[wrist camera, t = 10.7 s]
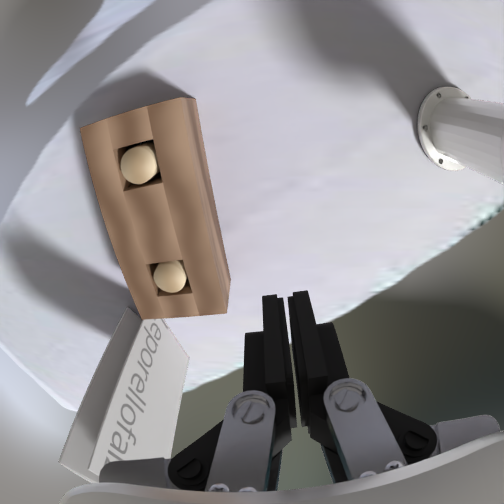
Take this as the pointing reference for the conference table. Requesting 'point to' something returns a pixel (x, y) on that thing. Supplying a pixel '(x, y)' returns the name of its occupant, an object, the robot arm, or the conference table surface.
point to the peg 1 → (140, 163)
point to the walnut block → (161, 208)
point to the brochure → (129, 399)
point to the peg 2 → (170, 276)
